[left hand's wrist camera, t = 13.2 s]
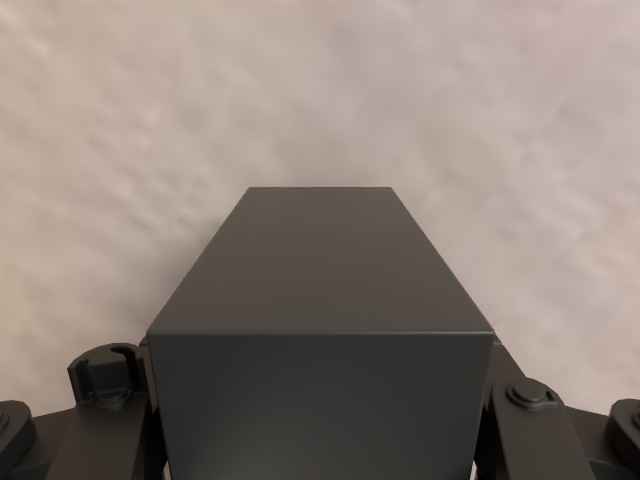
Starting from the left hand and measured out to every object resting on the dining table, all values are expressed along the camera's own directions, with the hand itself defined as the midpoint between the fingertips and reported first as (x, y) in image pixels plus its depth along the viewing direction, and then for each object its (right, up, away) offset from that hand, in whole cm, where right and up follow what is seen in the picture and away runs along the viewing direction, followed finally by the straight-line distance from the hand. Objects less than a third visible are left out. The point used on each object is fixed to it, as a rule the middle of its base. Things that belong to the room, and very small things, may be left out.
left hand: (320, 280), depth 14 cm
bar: (0, -9, +4) cm, 10 cm away
